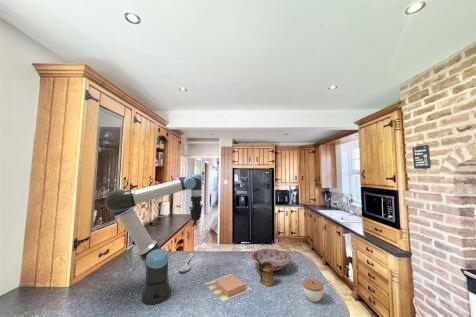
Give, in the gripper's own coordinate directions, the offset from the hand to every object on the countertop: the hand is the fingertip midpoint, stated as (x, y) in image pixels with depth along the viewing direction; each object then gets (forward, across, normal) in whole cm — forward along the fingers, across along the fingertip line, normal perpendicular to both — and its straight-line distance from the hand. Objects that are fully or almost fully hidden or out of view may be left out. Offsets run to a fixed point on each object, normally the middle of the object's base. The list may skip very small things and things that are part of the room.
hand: (196, 229), depth 137 cm
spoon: (+30, -11, -15) cm, 36 cm away
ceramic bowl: (+30, -28, +46) cm, 62 cm away
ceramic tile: (+27, +5, +24) cm, 37 cm away
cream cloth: (+29, +7, +28) cm, 41 cm away
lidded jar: (+30, -1, +76) cm, 82 cm away
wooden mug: (+30, -6, +47) cm, 56 cm away
